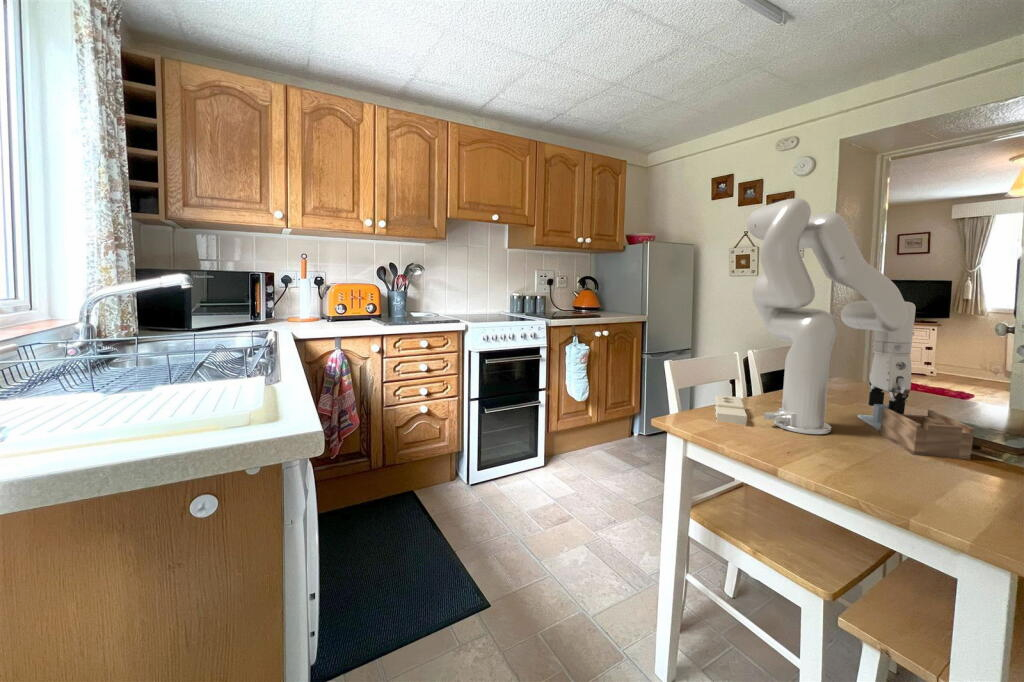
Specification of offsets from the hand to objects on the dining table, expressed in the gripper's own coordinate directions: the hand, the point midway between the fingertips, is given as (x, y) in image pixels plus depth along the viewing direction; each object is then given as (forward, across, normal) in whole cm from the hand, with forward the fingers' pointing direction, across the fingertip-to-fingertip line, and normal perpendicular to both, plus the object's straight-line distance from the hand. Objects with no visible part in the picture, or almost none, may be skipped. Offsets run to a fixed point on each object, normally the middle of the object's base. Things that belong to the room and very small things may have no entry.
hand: (885, 410), depth 115 cm
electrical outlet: (+4, -2, +38) cm, 39 cm away
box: (+4, -16, 0) cm, 17 cm away
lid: (+4, 0, 0) cm, 4 cm away
